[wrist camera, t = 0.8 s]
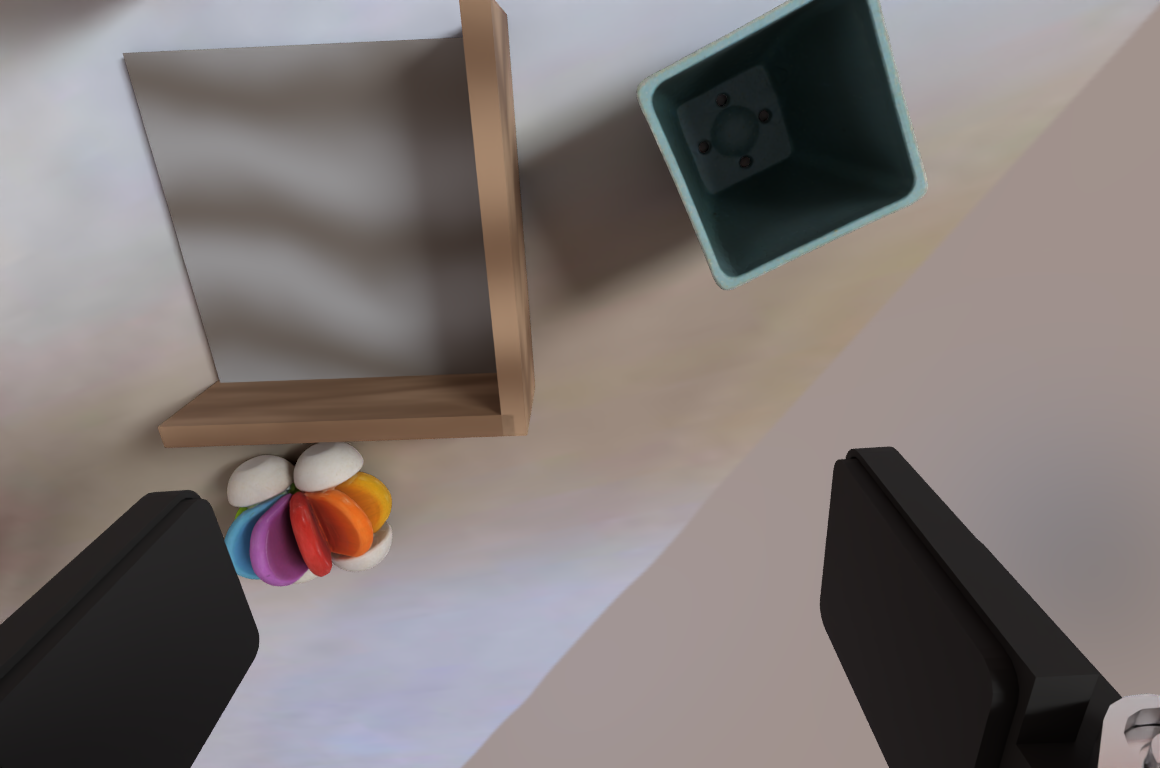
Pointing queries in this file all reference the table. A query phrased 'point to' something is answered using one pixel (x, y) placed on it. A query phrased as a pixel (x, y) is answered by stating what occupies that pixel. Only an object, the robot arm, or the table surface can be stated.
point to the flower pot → (786, 134)
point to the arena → (348, 235)
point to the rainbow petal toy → (307, 516)
